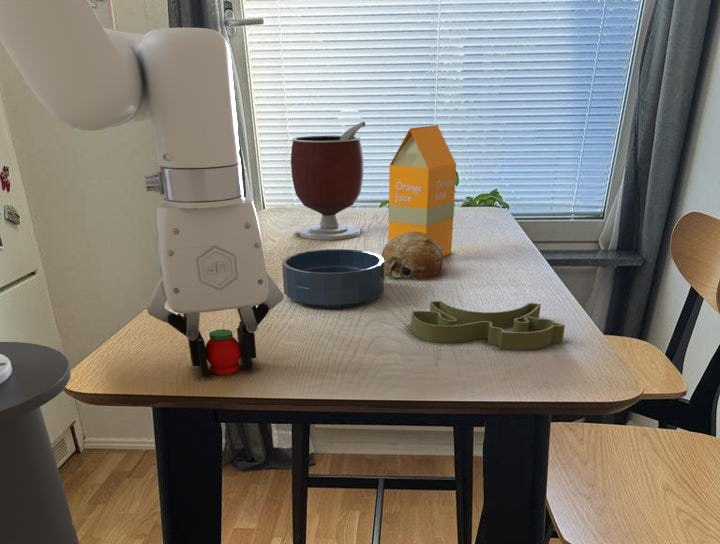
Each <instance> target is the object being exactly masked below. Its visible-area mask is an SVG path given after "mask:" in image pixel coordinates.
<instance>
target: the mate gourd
mask: <svg viewBox="0 0 720 544" xmlns="http://www.w3.org/2000/svg"><path fill="white" fill-rule="evenodd" d="M363 127H366V122H365V121H361V122H359V123H357V124H355V125H353V126H352V127H350V128H349V129H347V130H346V131H344V133H343V134H342V135H334V134H333V135H329V134H328V135H305V136H296V137H293V138H292V144H291V154H290V170H291V180H292V183H293V188H294V192H295V196H296V197H297V198H298V199H299V201H300V202H301V204H302V205H303V206H304V207H306V208H308V209H310V210H312V211H314V212H317V213H318V214H320V215H321V219H320V222H319V224H313V225H307V226H303V227H301V228H300V229H298V235H299V236H300V237H302V238H305V239H310V240H320V241H321V240H323V241H329V240H330V241H331V240H345V239H351V238H354V237H357V236H360V234H361V229H360V227H358V226H355V225H352V224H341V223H339V221H338V218H337V216H336V215H337V214H339V213H340V212H342V211H344V210H346V209H348V208H350V207H352V206H353V205H354V204H355V203H356V201H357V200H358V198H359V196H360V195H361V192H362V187H363V183H364V174H365V173H364V170H365V168H364V164H365V163H364V162H365V161H364V160H365V159H364V154H363V147H362V143H361V142H362V141H361V136H356V134H357V132H358V131H359V130H360V129H361V128H363Z"/></svg>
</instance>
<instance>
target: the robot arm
mask: <svg viewBox="0 0 720 544" xmlns="http://www.w3.org/2000/svg"><path fill="white" fill-rule="evenodd" d="M0 42H1V44H2V46H3V47H4V49H5V50H6V53H7V54H8V55H9V57H10V59H11V60H12V62H13V63H14V65H15V67H16V68H17V70H18V71H19V74H20V75H21V77H22V78H23V79H24V81H25V83H26V84H27V86H28V87H29V88H30V90H31V91H32V93H33V94H34V96H35V97H36V98H37V100H39V102H40V103H41V104H42V106H43V107H45V109H47V110H48V111H49V113H50V114H52V115H53V116H54V117H55V118H57V119H58V120H59V121H60V122H62V123H64V124H66V125H68V126H69V127H71V128H74V129H77V130H82V131H88V132H92V131H93V132H94V131H102V130H106V129H110V128H115V127H119V126H123V125H127V124H133V123H137V122H143V121H150V120H151V126H152V131H153V132H152V133H153V137H154V145H155V151H156V158H157V170H155V173H152V174H151V175H149V174H148V175H143V180H144V186H145V191H146V192H154V193H158V194H159V195H160V196H162V197H163V198H162V199H163V201H160V202H158V203H157V207H156V208H157V209H156V230H157V231H156V232H157V251H158V260H159V271H160V278H159V280H158V282H157V284H156V287H155V288H154V290H153V293H152V294H151V297H150V299H149V301H148V303H147V304H146V310H147V314H148V315H149V316H151V317H152V318H155V319H157V320H159V321H161V322H164V323H167V324H169V326H171V327H173V328H174V329H175V330H176V331H178V332H179V333H180V334H182V335H184V336H185V337H186V338H187V342H188V349H189V356H190V361H191V365H192V367H193V368H196V367H197V368H198V370H199V373H200V374H201V377H207V376H208V375H210V372H209V362H208V360H207V356H206V349H205V347H206V343H205V339H204V337H203V335H202V333H201V330H200V318H201V313H202V314H203V313H210V312H217V311H218V312H219V311H226V310H234V309H236V310H237V313H238V314H237V315H238V317H239V320H240V321H239V323H238V324H239V325H238V326H237V328H236V333H237V341H238V343H239V345H240V348H241V357H240V360H239V361H240V362H241V364H242V365H243V368H244V369H245V370H246V369H247V370H253V359H257V348H256V347H257V346H256V336H255V332H257V330H258V326H259V325H260V324H261V323H262V322H263V320H264V319H265V318H266V317H267V315H268V314H269V312H270V311H271V310H273V309H274V308H275V307H276V306H278V305H279V304H280V303H281V302H282V301H283V300H284V298H285V294H284V292H283V291H282V290H281V289H280V288H279V286H278V285H277V284H276V282H275V281H274V280H273V279H272V277H271V276H270V275H269V274H268V270H267V263H266V255H265V252H264V245H263V244H264V243H263V238H262V233H261V228H260V227H261V226H260V222H259V219H258V215H257V210H256V206H255V204H254V200H253V199H252V198H249V197H246V196H245V195H244V184H243V174H242V164H241V151H240V143H239V142H240V141H239V132H238V119H237V109H236V99H235V89H234V87H235V86H234V77H233V67H232V57H231V50H230V46H229V43H228V41H227V39H226V37H225V36H224V35H223V34H222V33H221V32H219V31H217V30H215V29H211V28H205V27H161V28H156V29H151V30H149V31H147V32H146V33H145V34H144V33H135V32H127V31H122V30H121V31H120V30H116V29H110V28H105V27H104V25H103V24H102V22H101V21H100V19H99V17H98V15H97V13H96V11H95V10H94V8H93V6H92V4H91V2H90V0H0ZM166 303H167V304H168V306H169V308H168V307H167V306H166ZM181 314H182V315H181ZM11 373H12V367H11V363H10V360H9V359H8V358H7V357H5V356H4V355H2V354H0V384H1V383H2V382H4V381H5V380H6V379H7V378H8V377H9V376H10V375H11Z"/></svg>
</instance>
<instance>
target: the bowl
mask: <svg viewBox="0 0 720 544" xmlns="http://www.w3.org/2000/svg"><path fill="white" fill-rule="evenodd" d="M281 270H282V271H281V272H282V284H283V294H284V296H286V297H287V298H288V299H290V300H292V301H295V302H297V303H298V304H301V305H303V306H307V307H313V308H320V309H321V308H322V309H342V308H343V309H344V308H350V307H351V308H352V307H356V306H361V305H364V304H366V303H369V302H371V301H372V300H374V299H376V298H379V297H380V296H382V294H383V293H384V292H385V272H384V260H383V257H382V255H379V254H377V253H373V252H370V251H365V250H359V249H343V248H335V249H334V248H333V249H329V248H328V249H317V250H316V249H315V250H308V251H302V252H297V253H294V254H291V255H288V256H287V257H285V258H284V259H282V262H281Z"/></svg>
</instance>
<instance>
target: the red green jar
mask: <svg viewBox="0 0 720 544" xmlns="http://www.w3.org/2000/svg"><path fill="white" fill-rule="evenodd" d="M208 335H209V339H208V340H207V342H206V343H205V349H206V356H207V363H208V364H210V370H211V371H210V372H212V373H213V374H216V375H230V374H235V373H236V372H238V371H239V370H240V365H239V364H240V363H239V361H241V360H240V357H241V348H240V345H239V343H238V339H236V338H235V337H234V336H233V335H234V333H233V331H232V330H231V329H226V328H220V329H219V328H218V329H215V330H212V331H210V332H209V334H208Z"/></svg>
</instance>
